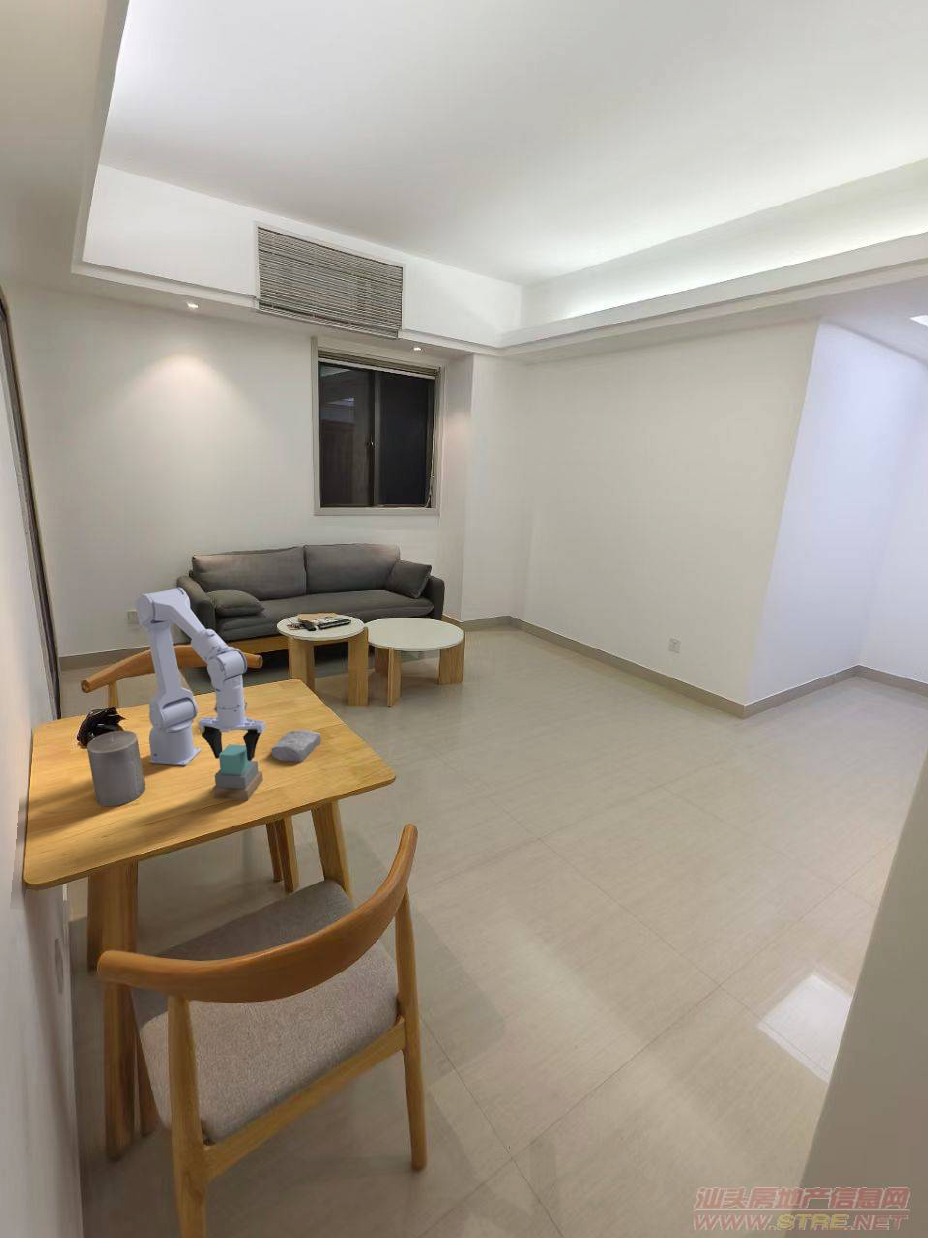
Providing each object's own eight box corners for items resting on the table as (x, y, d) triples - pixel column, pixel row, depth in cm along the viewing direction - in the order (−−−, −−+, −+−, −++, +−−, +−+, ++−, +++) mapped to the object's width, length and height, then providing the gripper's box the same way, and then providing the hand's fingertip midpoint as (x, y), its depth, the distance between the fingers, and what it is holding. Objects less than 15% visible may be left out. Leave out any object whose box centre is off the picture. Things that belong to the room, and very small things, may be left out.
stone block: (269, 765, 144) (304, 763, 142) (265, 748, 143) (300, 746, 141) (292, 744, 156) (324, 743, 153) (288, 729, 155) (321, 726, 152)
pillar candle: (113, 781, 132) (104, 724, 127) (154, 783, 131) (145, 726, 127) (85, 806, 122) (74, 745, 118) (129, 808, 122) (119, 748, 118)
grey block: (215, 787, 127) (214, 775, 126) (229, 770, 133) (228, 759, 132) (245, 789, 126) (244, 777, 125) (258, 772, 133) (257, 761, 132)
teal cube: (220, 773, 127) (218, 754, 125) (231, 762, 131) (229, 744, 130) (241, 775, 126) (239, 756, 125) (250, 764, 131) (249, 745, 129)
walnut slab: (214, 799, 127) (212, 788, 126) (230, 780, 135) (229, 769, 134) (248, 802, 127) (247, 790, 126) (262, 782, 134) (262, 771, 133)
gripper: (189, 709, 121) (195, 764, 124) (254, 713, 120) (258, 769, 124) (205, 695, 127) (210, 748, 131) (267, 699, 127) (271, 752, 130)
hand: (235, 757), depth 128 cm, fingers open, 7 cm apart
